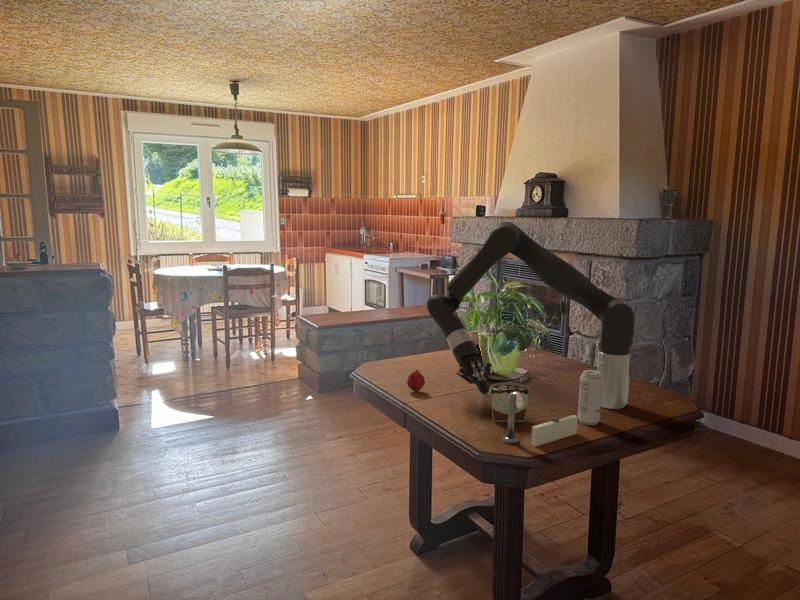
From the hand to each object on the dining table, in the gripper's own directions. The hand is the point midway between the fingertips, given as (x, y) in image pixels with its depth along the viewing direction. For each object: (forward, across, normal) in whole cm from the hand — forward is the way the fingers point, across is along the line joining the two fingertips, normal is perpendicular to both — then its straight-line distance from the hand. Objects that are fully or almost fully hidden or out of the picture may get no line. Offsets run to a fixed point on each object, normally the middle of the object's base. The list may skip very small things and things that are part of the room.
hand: (486, 393), depth 169 cm
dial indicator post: (+19, -11, -12) cm, 25 cm away
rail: (+23, 0, -16) cm, 28 cm away
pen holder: (-18, +24, +25) cm, 38 cm away
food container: (+10, 0, -3) cm, 11 cm away
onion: (-13, -10, +20) cm, 26 cm away
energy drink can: (+21, +18, -14) cm, 31 cm away
